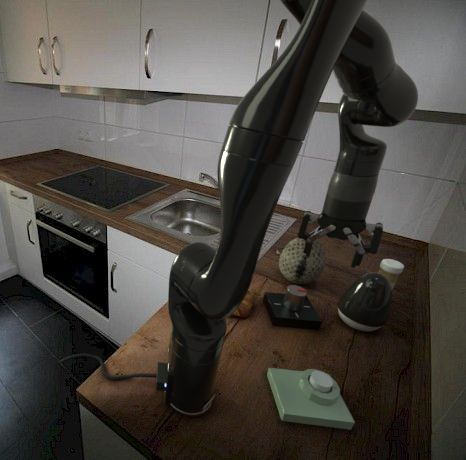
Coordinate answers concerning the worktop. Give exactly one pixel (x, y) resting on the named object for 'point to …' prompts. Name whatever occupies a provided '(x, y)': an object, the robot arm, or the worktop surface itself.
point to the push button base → (308, 400)
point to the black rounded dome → (366, 302)
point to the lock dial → (294, 298)
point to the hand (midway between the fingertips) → (329, 260)
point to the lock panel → (291, 313)
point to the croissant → (245, 306)
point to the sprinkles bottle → (391, 270)
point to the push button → (320, 381)
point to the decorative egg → (302, 262)
